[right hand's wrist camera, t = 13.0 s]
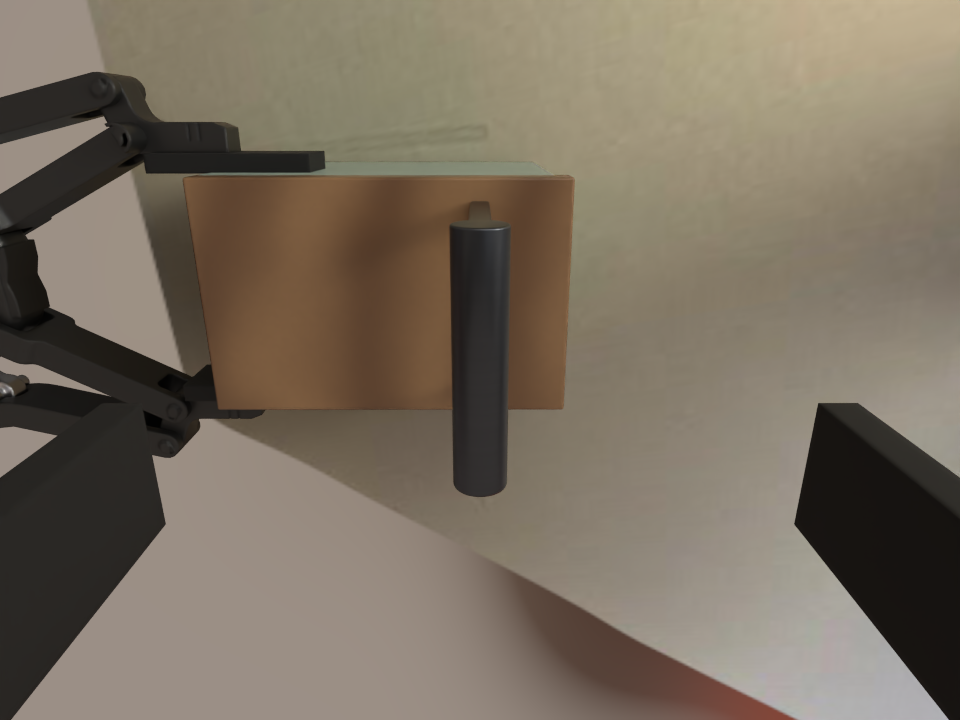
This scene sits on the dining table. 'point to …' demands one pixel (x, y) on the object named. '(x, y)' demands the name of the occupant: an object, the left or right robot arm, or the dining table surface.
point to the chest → (420, 169)
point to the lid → (389, 297)
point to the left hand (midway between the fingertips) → (327, 278)
